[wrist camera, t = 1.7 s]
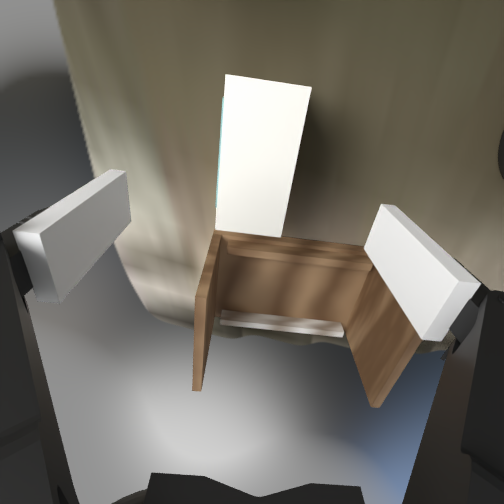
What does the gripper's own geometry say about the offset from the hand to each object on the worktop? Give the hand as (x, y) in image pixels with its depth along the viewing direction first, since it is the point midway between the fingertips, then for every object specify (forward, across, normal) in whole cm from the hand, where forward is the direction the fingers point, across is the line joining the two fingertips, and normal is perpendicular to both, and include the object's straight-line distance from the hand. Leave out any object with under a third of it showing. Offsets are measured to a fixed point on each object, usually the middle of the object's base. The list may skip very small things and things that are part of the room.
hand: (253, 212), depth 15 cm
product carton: (+19, 0, 0) cm, 19 cm away
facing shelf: (+19, -7, +18) cm, 27 cm away
